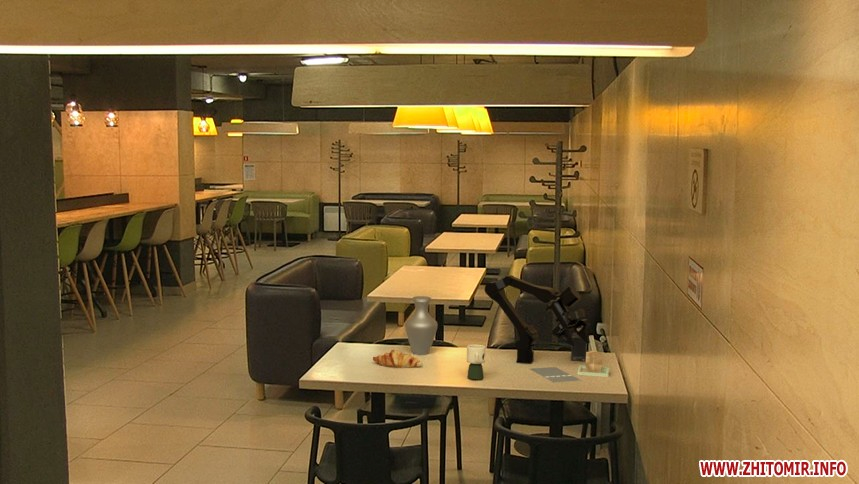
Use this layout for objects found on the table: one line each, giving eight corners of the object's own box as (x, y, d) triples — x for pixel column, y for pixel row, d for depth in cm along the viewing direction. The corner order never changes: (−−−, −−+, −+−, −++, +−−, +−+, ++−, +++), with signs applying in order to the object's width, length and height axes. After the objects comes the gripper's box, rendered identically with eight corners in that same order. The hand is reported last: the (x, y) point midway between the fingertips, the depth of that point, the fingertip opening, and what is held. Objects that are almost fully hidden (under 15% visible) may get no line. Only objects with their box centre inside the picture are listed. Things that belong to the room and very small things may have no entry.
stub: (585, 374, 338) (586, 352, 337) (593, 372, 342) (594, 350, 341) (593, 376, 335) (594, 354, 334) (601, 374, 339) (602, 352, 338)
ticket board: (528, 372, 342) (528, 368, 342) (555, 370, 345) (555, 366, 345) (553, 386, 321) (553, 381, 321) (581, 384, 325) (581, 380, 325)
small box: (585, 361, 362) (586, 337, 362) (570, 360, 364) (571, 336, 363) (586, 356, 373) (587, 333, 372) (571, 355, 374) (572, 332, 373)
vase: (436, 357, 364) (438, 300, 362) (403, 356, 364) (404, 299, 362) (437, 350, 378) (438, 295, 376) (405, 349, 378) (406, 294, 376)
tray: (577, 378, 334) (577, 371, 334) (578, 371, 346) (579, 365, 345) (608, 380, 331) (608, 374, 331) (608, 373, 343) (609, 367, 343)
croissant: (423, 374, 349) (425, 355, 352) (419, 368, 340) (422, 349, 343) (373, 369, 353) (376, 351, 356) (368, 363, 344) (371, 344, 347)
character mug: (485, 382, 324) (486, 349, 323) (467, 382, 324) (468, 349, 323) (483, 375, 335) (484, 343, 334) (465, 375, 335) (466, 343, 333)
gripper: (558, 304, 338) (578, 336, 331) (587, 300, 351) (607, 330, 343) (542, 320, 345) (562, 351, 338) (571, 315, 357) (591, 346, 350)
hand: (581, 344), depth 342 cm, fingers open, 9 cm apart
